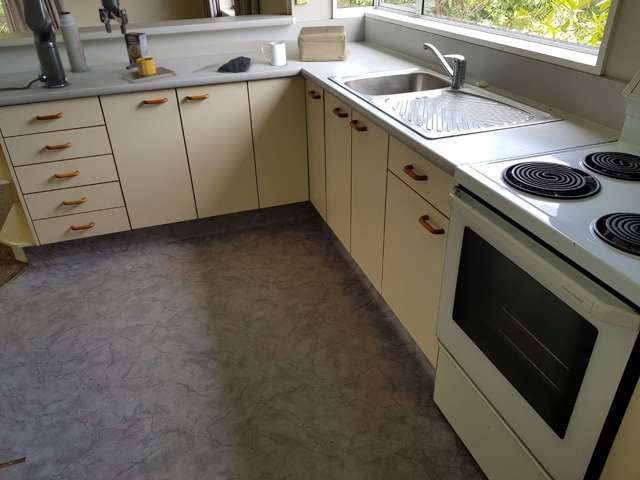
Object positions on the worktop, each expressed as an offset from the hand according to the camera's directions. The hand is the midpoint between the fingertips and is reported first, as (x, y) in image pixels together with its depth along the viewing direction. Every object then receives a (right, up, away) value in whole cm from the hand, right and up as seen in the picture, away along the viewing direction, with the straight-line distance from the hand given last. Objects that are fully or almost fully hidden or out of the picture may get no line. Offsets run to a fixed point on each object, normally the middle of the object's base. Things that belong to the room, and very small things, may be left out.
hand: (116, 33), depth 234 cm
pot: (+7, -15, +12) cm, 21 cm away
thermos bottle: (-31, -7, +30) cm, 44 cm away
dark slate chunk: (+51, -7, +28) cm, 58 cm away
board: (+9, -14, +16) cm, 24 cm away
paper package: (+96, +6, +45) cm, 106 cm away
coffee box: (-2, -2, +37) cm, 37 cm away
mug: (+70, -3, +32) cm, 77 cm away
